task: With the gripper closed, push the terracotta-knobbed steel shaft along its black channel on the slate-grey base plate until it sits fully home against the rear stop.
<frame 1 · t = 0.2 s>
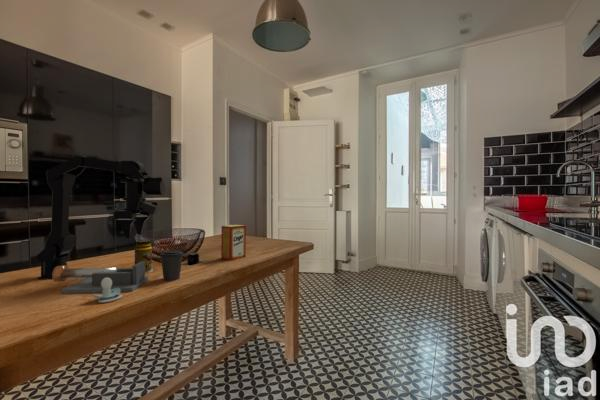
hand: (133, 236, 110), 14 cm above the table, tool pointing down, fingers open, 9 cm apart
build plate: (193, 264, 130), on the table
shaft: (87, 272, 95), point 4 cm above the table, slide at 6.0 cm
condiment: (140, 271, 115), on the table
pacifier: (108, 300, 84), on the table
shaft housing: (104, 286, 96), on the table
coffee cup: (171, 279, 105), on the table
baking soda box: (233, 258, 142), on the table
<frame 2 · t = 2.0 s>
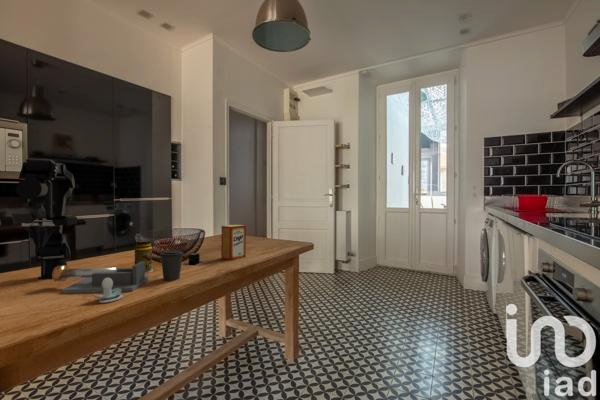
hand: (40, 247, 93), 13 cm above the table, tool pointing down, fingers closed
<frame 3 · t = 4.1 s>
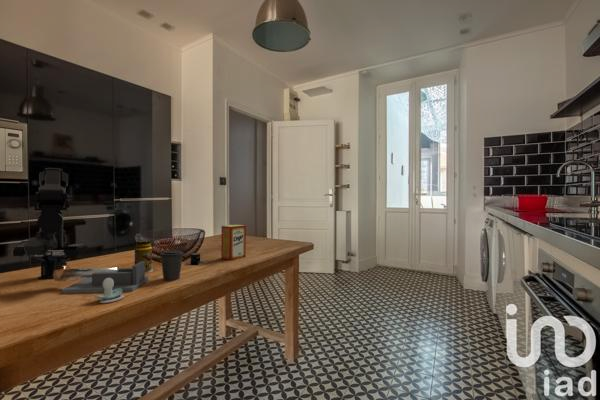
hand: (51, 276, 94), 4 cm above the table, tool pointing down, fingers closed
shaft: (88, 272, 95), point 5 cm above the table, slide at 5.6 cm, touching gripper
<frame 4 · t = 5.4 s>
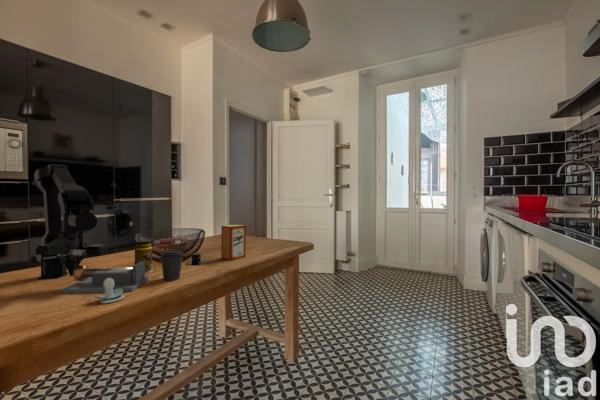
hand: (71, 276, 94), 4 cm above the table, tool pointing down, fingers closed
shaft: (107, 272, 96), point 5 cm above the table, slide at -0.1 cm, touching gripper
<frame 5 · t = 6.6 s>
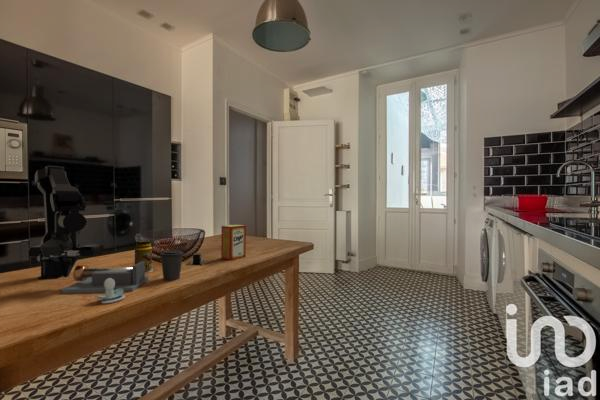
hand: (66, 276, 94), 3 cm above the table, tool pointing down, fingers closed
shaft: (107, 272, 96), point 5 cm above the table, slide at 0.0 cm
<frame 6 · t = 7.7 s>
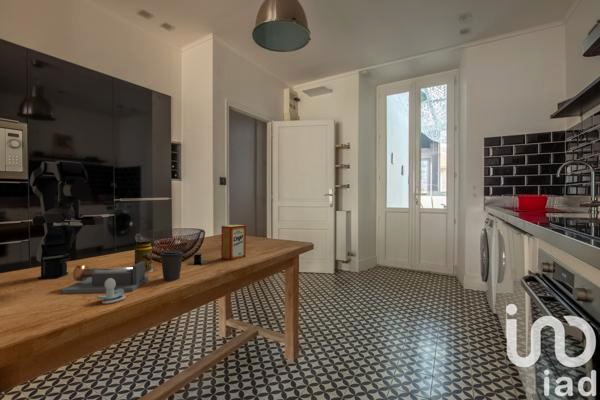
hand: (69, 245, 97), 13 cm above the table, tool pointing down, fingers closed
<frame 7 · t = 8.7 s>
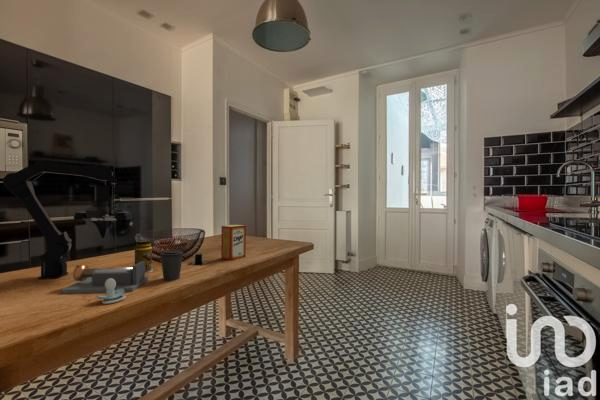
hand: (103, 238, 114), 13 cm above the table, tool pointing down, fingers closed
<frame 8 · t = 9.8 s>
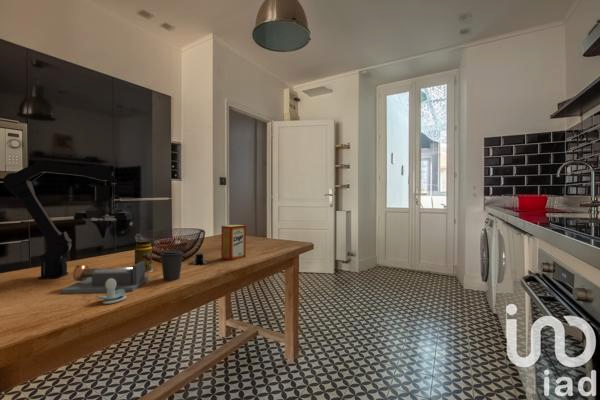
hand: (103, 238, 114), 13 cm above the table, tool pointing down, fingers closed
at the end: shaft slide at 0.0 cm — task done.
